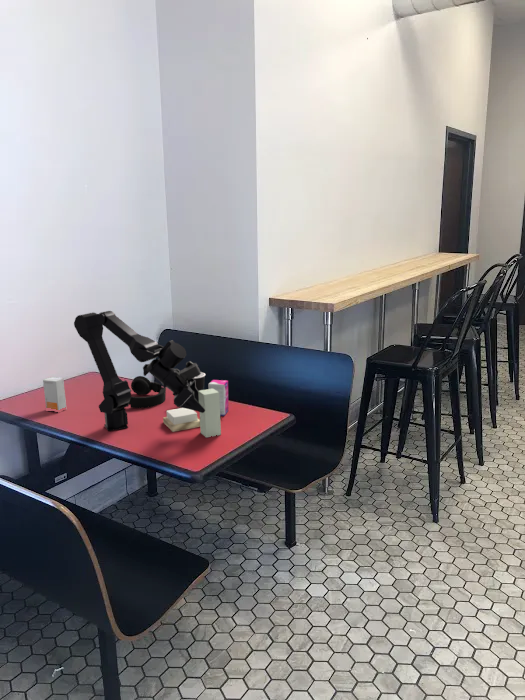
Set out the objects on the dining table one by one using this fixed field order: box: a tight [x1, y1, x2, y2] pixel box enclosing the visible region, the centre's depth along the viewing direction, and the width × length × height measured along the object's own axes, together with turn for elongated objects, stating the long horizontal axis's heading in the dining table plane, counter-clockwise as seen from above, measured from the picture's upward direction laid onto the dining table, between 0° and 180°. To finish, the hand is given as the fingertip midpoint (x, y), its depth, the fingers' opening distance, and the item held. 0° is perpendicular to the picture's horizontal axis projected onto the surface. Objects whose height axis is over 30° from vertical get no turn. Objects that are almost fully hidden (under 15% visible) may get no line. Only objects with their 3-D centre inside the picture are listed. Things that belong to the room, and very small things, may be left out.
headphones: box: [129, 375, 167, 409], centre depth 221 cm, size 18×8×20 cm
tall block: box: [198, 388, 222, 438], centre depth 184 cm, size 5×5×14 cm
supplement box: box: [208, 379, 229, 417], centre depth 204 cm, size 6×6×12 cm
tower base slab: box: [162, 416, 200, 433], centre depth 195 cm, size 10×10×2 cm
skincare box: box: [42, 376, 67, 410], centre depth 212 cm, size 6×4×12 cm
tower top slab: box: [166, 407, 198, 425], centre depth 194 cm, size 8×8×2 cm
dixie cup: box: [191, 371, 206, 391], centre depth 216 cm, size 8×8×11 cm
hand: (204, 406), depth 184 cm, fingers open, 9 cm apart
